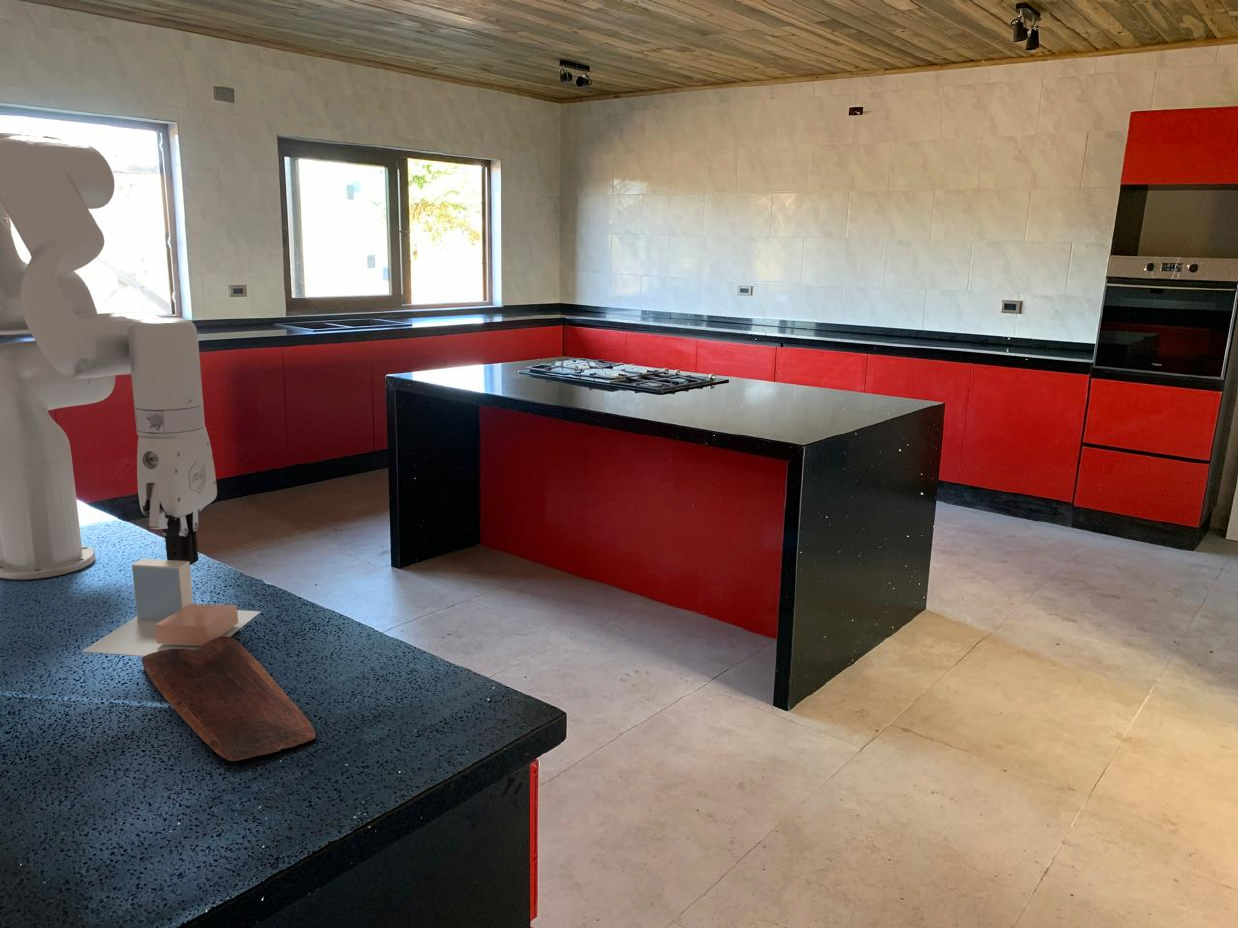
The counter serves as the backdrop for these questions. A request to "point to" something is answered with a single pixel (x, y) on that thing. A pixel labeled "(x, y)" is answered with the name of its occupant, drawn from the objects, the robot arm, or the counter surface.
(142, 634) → the grey mat
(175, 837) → the counter surface
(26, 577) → the robot arm
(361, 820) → the counter surface
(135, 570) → the cream block
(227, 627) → the salmon pink block
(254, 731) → the wooden tablet
